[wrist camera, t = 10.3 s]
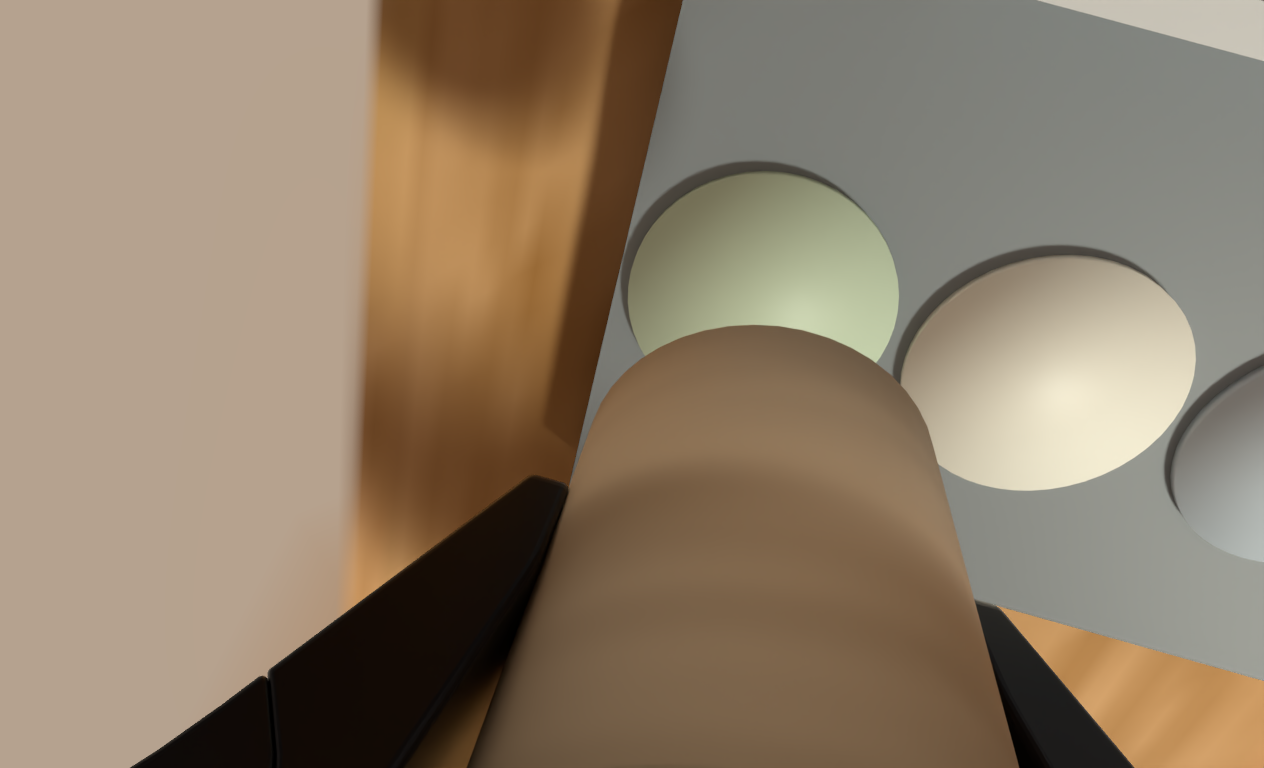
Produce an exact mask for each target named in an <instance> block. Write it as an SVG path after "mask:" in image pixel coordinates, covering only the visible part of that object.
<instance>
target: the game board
mask: <svg viewBox="0 0 1264 768" xmlns="http://www.w3.org/2000/svg"><path fill="white" fill-rule="evenodd" d="M739 325H768V326H781V327H787V328H793V329H799V330H804V331H808V332H811V333H814V334H818V335H821V336H824V337H828V338H830V339H833V340H835V341H837V342H839V343H842V344H844V345H846V346H849V347H851V348H853V349H854V350H856V351H858V352H859V353H861V354H863V355H864V356H866V357H868V358H870V359H871V360H873V361H874V362H875V363H876V364H878V365H879V366H880V367H882V368H883V369H884V370H885V371H887V372H888V373H889V374H890V375H891V376H892V377H893V378H894V379H895V380H896V381H897V382H898V383H899V384H900V385H901V386H902V387H903V388H904V389H905V390H906V392H907V393H908V394H909V396H910V397H911V399H912V400H913V401H914V403H915V404H916V406H917V407H918V409H919V411H920V413H921V415H922V417H923V419H924V421H925V423H926V425H927V427H928V431H929V434H930V437H931V440H932V444H933V447H934V451H935V455H936V459H937V462H938V466H939V470H940V473H941V477H942V481H943V485H944V488H945V492H946V496H947V500H948V503H949V507H950V511H951V515H952V518H953V522H954V526H955V529H956V533H957V537H958V541H959V544H960V548H961V552H962V556H963V559H964V563H965V567H966V571H967V574H968V578H969V582H970V586H971V589H972V593H973V597H974V599H977V600H980V601H984V602H987V603H991V604H993V605H997V606H1000V607H1004V608H1007V609H1011V610H1014V611H1018V612H1022V613H1025V614H1029V615H1032V616H1036V617H1039V618H1043V619H1046V620H1050V621H1053V622H1057V623H1061V624H1064V625H1068V626H1071V627H1075V628H1078V629H1082V630H1085V631H1089V632H1092V633H1096V634H1100V635H1103V636H1107V637H1110V638H1114V639H1117V640H1121V641H1124V642H1128V643H1131V644H1135V645H1139V646H1142V647H1146V648H1149V649H1153V650H1156V651H1160V652H1163V653H1167V654H1170V655H1174V656H1178V657H1181V658H1185V659H1188V660H1192V661H1195V662H1199V663H1202V664H1206V665H1209V666H1213V667H1217V668H1220V669H1224V670H1227V671H1231V672H1234V673H1238V674H1241V675H1245V676H1248V677H1252V678H1256V679H1259V680H1263V681H1264V0H683V2H682V6H681V11H680V15H679V19H678V23H677V28H676V32H675V36H674V40H673V45H672V49H671V53H670V58H669V62H668V66H667V70H666V75H665V79H664V83H663V87H662V92H661V96H660V100H659V104H658V109H657V113H656V117H655V121H654V126H653V130H652V134H651V138H650V143H649V147H648V151H647V156H646V160H645V164H644V168H643V173H642V177H641V181H640V185H639V190H638V194H637V198H636V202H635V207H634V211H633V215H632V219H631V224H630V228H629V232H628V236H627V241H626V245H625V249H624V254H623V258H622V262H621V266H620V271H619V275H618V279H617V283H616V288H615V292H614V296H613V300H612V305H611V309H610V313H609V317H608V322H607V326H606V330H605V334H604V339H603V343H602V347H601V352H600V356H599V360H598V364H597V369H596V373H595V377H594V381H593V386H592V390H591V394H590V398H589V403H588V407H587V411H586V415H585V420H584V424H583V428H582V432H581V437H580V441H579V445H578V450H577V454H576V458H575V462H574V467H573V471H572V475H571V479H570V483H571V480H572V477H573V474H574V472H575V469H576V466H577V463H578V461H579V458H580V455H581V452H582V450H583V447H584V444H585V441H586V439H587V436H588V433H589V431H590V428H591V425H592V422H593V420H594V417H595V415H596V413H597V411H598V409H599V406H600V404H601V402H602V401H603V399H604V398H605V396H606V395H607V393H608V392H609V390H610V389H611V387H612V386H613V385H614V384H615V383H616V381H617V380H618V379H619V378H620V377H621V376H622V375H623V374H624V373H625V372H626V371H627V370H628V369H629V368H630V367H632V366H633V365H634V364H635V363H637V362H638V361H639V360H640V359H641V358H643V357H645V356H646V355H648V354H649V353H651V352H653V351H654V350H656V349H658V348H659V347H661V346H663V345H666V344H668V343H670V342H672V341H674V340H677V339H679V338H681V337H684V336H688V335H691V334H694V333H697V332H701V331H704V330H710V329H715V328H721V327H726V326H739ZM569 485H570V484H569Z"/></svg>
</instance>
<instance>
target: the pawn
mask: <svg viewBox="0 0 1264 768" xmlns="http://www.w3.org/2000/svg"><path fill="white" fill-rule="evenodd" d="M467 768H1019V765H1018V761H1017V757H1016V754H1015V750H1014V746H1013V742H1012V739H1011V735H1010V731H1009V728H1008V724H1007V720H1006V716H1005V713H1004V709H1003V705H1002V701H1001V698H1000V694H999V690H998V686H997V683H996V679H995V675H994V671H993V668H992V664H991V660H990V657H989V653H988V649H987V645H986V642H985V638H984V634H983V630H982V627H981V623H980V619H979V615H978V612H977V608H976V604H975V600H974V597H973V593H972V589H971V586H970V582H969V578H968V574H967V571H966V567H965V563H964V559H963V556H962V552H961V548H960V544H959V541H958V537H957V533H956V529H955V526H954V522H953V518H952V515H951V511H950V507H949V503H948V500H947V496H946V492H945V488H944V485H943V481H942V477H941V473H940V470H939V466H938V462H937V459H936V455H935V451H934V447H933V444H932V440H931V437H930V434H929V431H928V427H927V425H926V423H925V421H924V419H923V417H922V415H921V413H920V411H919V409H918V407H917V406H916V404H915V403H914V401H913V400H912V399H911V397H910V396H909V394H908V393H907V392H906V390H905V389H904V388H903V387H902V386H901V385H900V384H899V383H898V382H897V381H896V380H895V379H894V378H893V377H892V376H891V375H890V374H889V373H888V372H887V371H885V370H884V369H883V368H882V367H880V366H879V365H878V364H876V363H875V362H874V361H873V360H871V359H870V358H868V357H866V356H864V355H863V354H861V353H859V352H858V351H856V350H854V349H853V348H851V347H849V346H846V345H844V344H842V343H839V342H837V341H835V340H833V339H830V338H828V337H824V336H821V335H818V334H814V333H811V332H808V331H804V330H799V329H793V328H787V327H781V326H768V325H739V326H726V327H721V328H715V329H710V330H704V331H701V332H697V333H694V334H691V335H688V336H684V337H681V338H679V339H677V340H674V341H672V342H670V343H668V344H666V345H663V346H661V347H659V348H658V349H656V350H654V351H653V352H651V353H649V354H648V355H646V356H645V357H643V358H641V359H640V360H639V361H638V362H637V363H635V364H634V365H633V366H632V367H630V368H629V369H628V370H627V371H626V372H625V373H624V374H623V375H622V376H621V377H620V378H619V379H618V380H617V381H616V383H615V384H614V385H613V386H612V387H611V389H610V390H609V392H608V393H607V395H606V396H605V398H604V399H603V401H602V402H601V404H600V406H599V409H598V411H597V413H596V415H595V417H594V420H593V422H592V425H591V428H590V431H589V433H588V436H587V439H586V441H585V444H584V447H583V450H582V452H581V455H580V458H579V461H578V463H577V466H576V469H575V472H574V474H573V477H572V480H571V483H570V485H569V488H568V494H567V497H566V500H565V502H564V505H563V508H562V511H561V513H560V516H559V519H558V522H557V525H556V527H555V530H554V533H553V536H552V538H551V541H550V544H549V547H548V549H547V552H546V555H545V558H544V560H543V563H542V566H541V569H540V571H539V574H538V577H537V580H536V582H535V585H534V588H533V590H532V593H531V595H530V598H529V601H528V603H527V605H526V608H525V610H524V613H523V615H522V618H521V620H520V623H519V626H518V628H517V631H516V634H515V637H514V639H513V642H512V645H511V648H510V650H509V653H508V656H507V659H506V661H505V664H504V667H503V669H502V672H501V675H500V678H499V680H498V683H497V686H496V689H495V691H494V694H493V697H492V700H491V702H490V705H489V708H488V711H487V713H486V716H485V719H484V722H483V724H482V727H481V730H480V733H479V735H478V738H477V741H476V744H475V746H474V749H473V752H472V755H471V757H470V760H469V763H468V766H467Z"/></svg>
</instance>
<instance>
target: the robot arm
mask: <svg viewBox="0 0 1264 768" xmlns="http://www.w3.org/2000/svg"><path fill="white" fill-rule="evenodd" d="M567 494H568V486H567V485H566V484H565V483H563V482H559V481H556V480H552V479H549V478H545V477H542V476H538V475H531V476H528V477H526V478H525V479H524V480H522V481H521V482H520V483H518V484H517V485H516V486H514V487H513V488H512V489H510V490H509V491H508V492H506V493H505V494H504V495H502V496H501V497H500V498H498V499H497V500H496V501H494V502H493V503H492V504H490V505H489V506H488V507H486V508H485V509H484V510H482V511H481V512H480V513H478V514H477V515H476V516H474V517H473V518H472V519H470V520H469V521H468V522H466V523H465V524H463V525H462V526H461V527H459V528H458V529H457V530H455V531H454V532H453V533H451V534H450V535H449V536H447V537H446V538H445V539H443V540H442V541H441V542H439V543H438V544H437V545H435V546H434V547H433V548H431V549H430V550H429V551H427V552H426V553H425V554H423V555H422V556H421V557H419V558H418V559H417V560H415V561H414V562H413V563H411V564H410V565H409V566H407V567H406V568H405V569H403V570H402V571H401V572H399V573H398V574H397V575H395V576H394V577H393V578H391V579H390V580H389V581H387V582H386V583H385V584H383V585H382V586H380V587H379V588H378V589H376V590H375V591H374V592H372V593H371V594H370V595H368V596H367V597H366V598H364V599H363V600H362V601H360V602H359V603H358V604H356V605H355V606H354V607H352V608H351V609H350V610H348V611H347V612H346V613H344V614H343V615H342V616H340V617H339V618H338V619H336V620H335V621H334V622H333V623H331V624H330V625H328V626H327V627H326V628H324V629H323V630H322V631H320V632H319V633H318V634H316V635H315V636H314V637H312V638H311V639H310V640H308V641H307V642H306V643H304V644H303V645H302V646H300V647H299V648H298V649H296V650H295V651H293V652H292V653H291V654H289V655H288V656H287V657H285V658H284V659H283V660H281V661H280V662H279V663H278V664H276V665H275V666H274V667H272V668H271V669H270V670H269V671H268V679H267V678H266V677H265V676H260V677H258V678H257V679H255V680H254V681H253V682H251V683H250V684H249V685H247V686H246V687H245V688H243V689H242V690H241V691H239V692H238V693H237V694H235V695H234V696H233V697H231V698H230V699H229V700H227V701H226V702H225V703H224V704H222V705H221V706H219V707H218V708H216V709H215V710H214V711H213V712H211V713H209V714H208V715H207V716H205V717H204V718H202V719H201V720H200V721H198V722H197V723H195V724H194V725H192V726H191V727H190V728H188V729H187V730H185V731H184V732H183V733H181V734H180V735H178V736H177V737H176V738H174V739H173V740H171V741H170V742H169V743H167V744H166V745H164V746H163V747H161V748H160V749H159V750H157V751H156V752H154V753H152V754H151V755H149V756H148V757H146V758H145V759H143V760H141V761H140V762H138V763H137V764H135V765H134V766H132V767H131V768H467V766H468V763H469V760H470V757H471V755H472V752H473V749H474V746H475V744H476V741H477V738H478V735H479V733H480V730H481V727H482V724H483V722H484V719H485V716H486V713H487V711H488V708H489V705H490V702H491V700H492V697H493V694H494V691H495V689H496V686H497V683H498V680H499V678H500V675H501V672H502V669H503V667H504V664H505V661H506V659H507V656H508V653H509V650H510V648H511V645H512V642H513V639H514V637H515V634H516V631H517V628H518V626H519V623H520V620H521V618H522V615H523V613H524V610H525V608H526V605H527V603H528V601H529V598H530V595H531V593H532V590H533V588H534V585H535V582H536V580H537V577H538V574H539V571H540V569H541V566H542V563H543V560H544V558H545V555H546V552H547V549H548V547H549V544H550V541H551V538H552V536H553V533H554V530H555V527H556V525H557V522H558V519H559V516H560V513H561V511H562V508H563V505H564V502H565V500H566V497H567ZM974 600H975V604H976V608H977V612H978V615H979V619H980V623H981V627H982V630H983V634H984V638H985V642H986V645H987V649H988V653H989V657H990V660H991V664H992V668H993V671H994V675H995V679H996V683H997V686H998V690H999V694H1000V698H1001V701H1002V705H1003V709H1004V713H1005V716H1006V720H1007V724H1008V728H1009V731H1010V735H1011V739H1012V742H1013V746H1014V750H1015V754H1016V757H1017V761H1018V765H1019V768H1134V767H1133V765H1132V764H1131V763H1130V762H1129V761H1128V760H1127V758H1126V757H1125V756H1124V755H1123V754H1122V752H1121V751H1120V750H1119V749H1118V748H1117V746H1116V745H1115V744H1114V743H1113V742H1112V741H1111V739H1110V738H1109V737H1108V736H1107V735H1106V733H1105V732H1104V731H1103V730H1102V729H1101V728H1100V726H1099V725H1098V724H1097V723H1096V722H1095V720H1094V719H1093V718H1092V717H1091V716H1090V714H1089V713H1088V712H1087V711H1086V710H1085V709H1084V707H1083V706H1082V705H1081V704H1080V703H1079V701H1078V700H1077V699H1076V698H1075V697H1074V696H1073V694H1072V693H1071V692H1070V691H1069V690H1068V688H1067V687H1066V686H1065V685H1064V684H1063V682H1062V681H1061V680H1060V679H1059V678H1058V677H1057V675H1056V674H1055V673H1054V672H1053V671H1052V669H1051V668H1050V667H1049V666H1048V665H1047V664H1046V662H1045V661H1044V660H1043V659H1042V658H1041V656H1040V655H1039V654H1038V653H1037V652H1036V650H1035V649H1034V648H1033V647H1032V646H1031V645H1030V643H1029V642H1028V641H1027V640H1026V639H1025V637H1024V636H1023V635H1022V634H1021V633H1020V632H1019V630H1018V629H1017V628H1016V627H1015V626H1014V624H1013V623H1012V622H1011V621H1010V620H1009V618H1008V617H1007V616H1006V615H1005V614H1004V613H1003V612H1002V611H1001V609H1000V608H998V607H997V606H995V605H993V604H991V603H987V602H984V601H980V600H977V599H974Z"/></svg>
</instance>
